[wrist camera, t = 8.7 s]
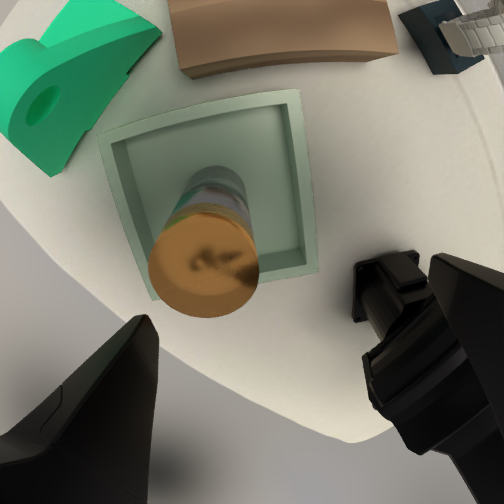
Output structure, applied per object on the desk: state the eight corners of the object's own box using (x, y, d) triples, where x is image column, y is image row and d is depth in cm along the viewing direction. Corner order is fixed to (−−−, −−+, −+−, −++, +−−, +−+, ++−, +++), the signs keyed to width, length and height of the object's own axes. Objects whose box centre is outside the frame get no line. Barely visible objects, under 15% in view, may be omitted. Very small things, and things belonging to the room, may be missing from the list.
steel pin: (240, 160, 18) (249, 211, 9) (250, 216, 20) (266, 309, 11) (180, 172, 18) (133, 234, 9) (194, 227, 20) (168, 323, 11)
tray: (308, 251, 22) (318, 272, 19) (160, 278, 22) (152, 300, 20) (288, 91, 16) (298, 88, 14) (114, 131, 17) (96, 135, 14)
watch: (471, 54, 14) (566, 58, 4) (419, 82, 16) (532, 88, 6) (441, -1, 12) (531, -20, 2) (382, 20, 14) (484, -17, 4)
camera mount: (98, -6, 11) (22, -53, 2) (166, 36, 14) (106, -22, 5) (14, 119, 15) (-77, 146, 6) (68, 168, 18) (-23, 220, 9)
